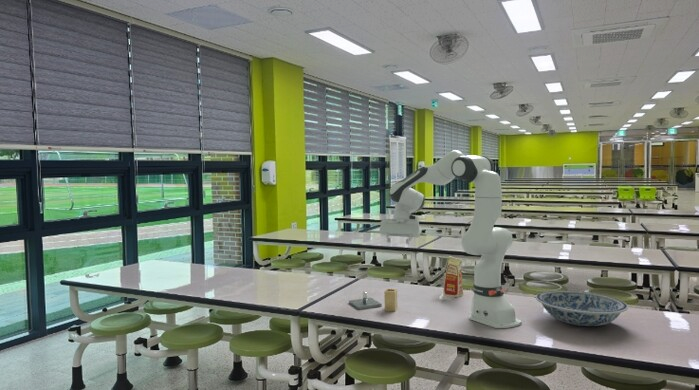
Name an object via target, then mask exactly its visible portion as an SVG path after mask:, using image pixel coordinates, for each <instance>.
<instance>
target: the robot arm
mask: <svg viewBox="0 0 699 390" xmlns="http://www.w3.org/2000/svg"><path fill="white" fill-rule="evenodd" d="M455 178H456V179H458V180H460V181H464V182H465V183H469V184H471V183H473V184H474V188H475V191H474V192H475V194H474V210H473V211H474V212H473V213H474V214H473V217H472V221H471V224H470V225H469V228H468V229H467V231H466V232H465V233H463V235H462V237H461V243H460V244H461V247H462V249H463V251H464V252H465V253H466V254H468V255H473V256H480V259H479V260H478V262H477V263H475V265H474V267H473V268H474V269H473V271H474V272H473V273H474V275H473V276H474V277H473V278H474V283H473V285H472V286H473V287H472V290H473V297H472V300H471V309H470V315H469V317H468V319H469V320H471V321H474V322H477V323H478V324H479V323H480V324H483V325H486V326H488V327H492V328H495V329H507V328H508V329H509V328H513V327H517V326H520V325H522V323H523V322H522V320H520V319H519V318H517V317H516V309H515V307H514V306H513V304H511V303H510V302H509V300H508V299H507V298H506V297H505V295H504V293H505V292H506V291H505V290H506V289H503V286H502V284H501V281H502V280H501V277H502V276H501V275H502V274H501V273H502V266H503V261H504V259H505V256H506V253H507V251H508V250H509V248H510V247H511V246H512V245H513V240H514V239H513V234H512V233H511V232H510V230H509V229H508V228H504V227H499V226H495V223H496V222H497V221H498V220H499V218H500V217H501V215H502V200H503V199H502V198H503V196H502V195H503V193H502V192H503V191H502V190H503V189H502V181H501V177H500V175H499V173H497V172H495V163H494V161H493V160H492V159H491V158H490V157H489V156H485V155H474V154H469V155H465V154H464V153H463V152H462V151H460V150H456V149H454V150H451V151H449V152H447V153H446V154H444V155H443V156H442V157H440V158H439V160H437V161H436V162H435V163H433V164H432V165H431V164H430V165H427V166H421V167H419V168H418V169H416V170H415V171H413V172H412V173H410V174H409V175H407V176H406V177H404V178H403V179H401V180H400V181H397V182H395V183H394V184H393V185H392V186H391V187H390V189H389V197H390V200H391V201H393V202H395V205H394V209H395V210H394V212H393V216H392V217H393V218H384V219H382V220H380V226H379V234H380V235H381V236H385V238H386V242H387V243H388V244H389V243H391V237H405V238H406V239H405V244H406V245H409V244H410V241H412V239H413V238H420V236H421V229H420V221H419V218H418V216H415V215H414V214H413V215H412V213H417V212H418V211H420V210H422V209H423V208H424V205H425V203H426V202H425V201H426V199H425V195H424V194H423V193H421V192H420V191H419V190H417V189H414V188H412V187H414V186H415V185H417V184H419V183H426V184H432V185H435V186H445V185H447V184H449V183H451V182H452V181H453V180H454V179H455ZM494 226H495V227H494Z"/></svg>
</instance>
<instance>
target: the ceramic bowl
mask: <svg viewBox="0 0 699 390" xmlns="http://www.w3.org/2000/svg"><path fill="white" fill-rule="evenodd" d="M535 299H536V301H537V302H538V303H540V304H541V305H542V306H543V308H544V309H545V310H546V311H545V312H547V313H548V314H549V315H550V316H552V318H555V320H558V321H560V322H563V323H565V324H571V325H574V326H580V327H582V326H583V327H598V326H603V325H607V324H610V323H612V322H613V321H615V320H616V319H617V318H618V317H619V316H620V315H621V313H624V312H626V311H627V310H628V309H629V305H628V304H627V303H626V302H624V301H622V300H620V299H617V298H616V297H615V298H614V297H612V296H607V295H604V294H599V293H594V292H593V293H592V292H586V291H578V290H549V291H543V292H540V293H537V294H536V295H535Z"/></svg>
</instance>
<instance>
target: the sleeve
mask: <svg viewBox="0 0 699 390" xmlns="http://www.w3.org/2000/svg"><path fill="white" fill-rule="evenodd" d="M397 309H398V289H397V288H386V289H385V290H384V311H385V312H387V311H388V312H396V311H397Z"/></svg>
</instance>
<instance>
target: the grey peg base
mask: <svg viewBox="0 0 699 390" xmlns="http://www.w3.org/2000/svg"><path fill="white" fill-rule="evenodd" d="M348 303H349V304H350V305H351V306H352V307H354V308H355V309H357V310H358V311H359V310H366V309H373V308H378V307H380V308H381V307H382V303H381V302H379V301H378V300H376V299H375V298H373V297H368V291H362V298H359V299H350V300H348Z"/></svg>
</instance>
